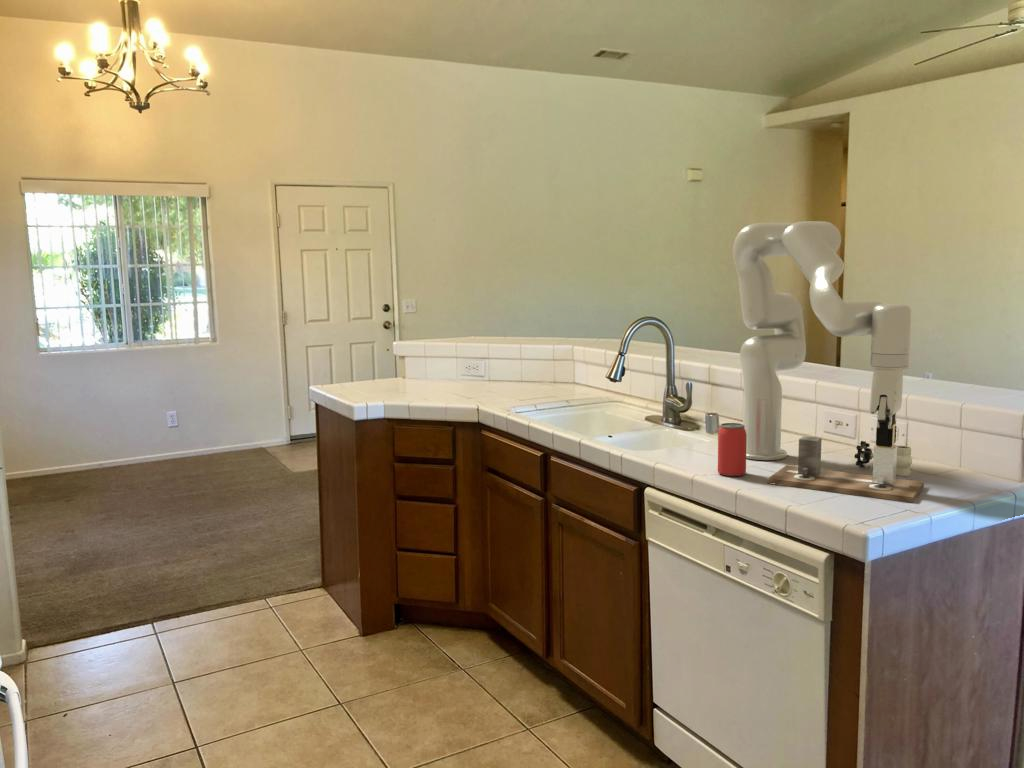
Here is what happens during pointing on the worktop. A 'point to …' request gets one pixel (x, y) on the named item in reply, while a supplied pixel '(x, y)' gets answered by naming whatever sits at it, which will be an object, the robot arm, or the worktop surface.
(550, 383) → the worktop surface
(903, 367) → the robot arm
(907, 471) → the valve
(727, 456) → the beer can
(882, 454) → the block
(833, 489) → the bolt plate
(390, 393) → the worktop surface
